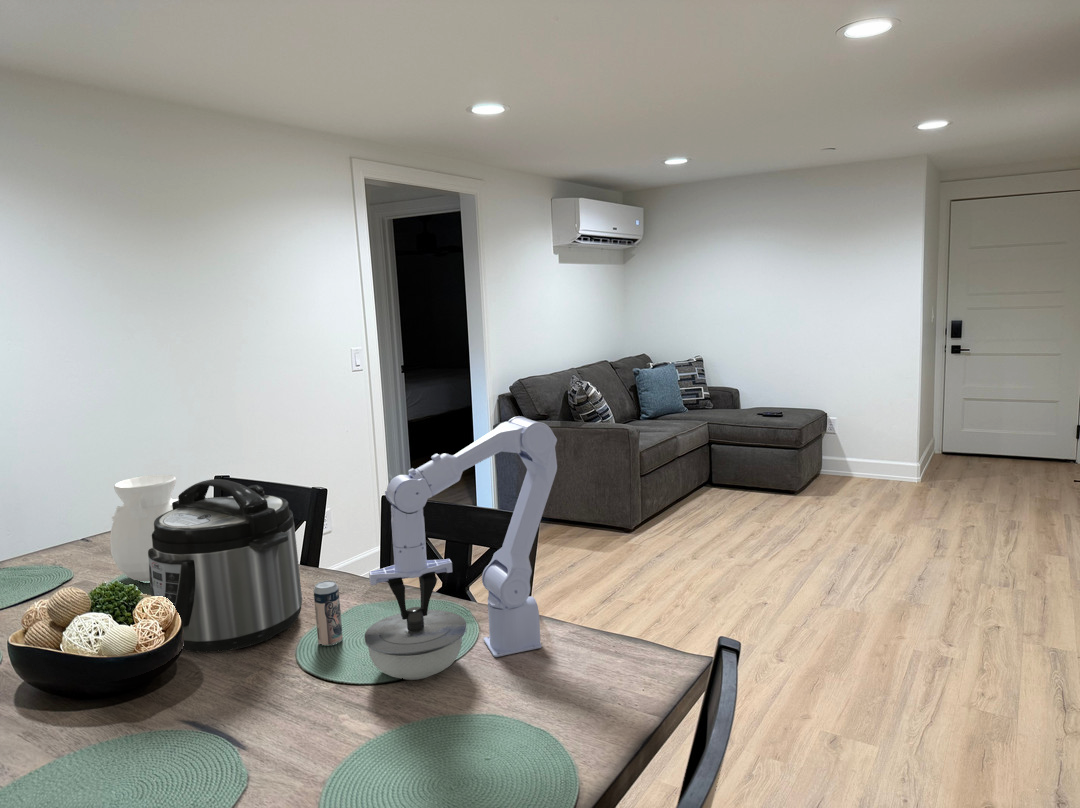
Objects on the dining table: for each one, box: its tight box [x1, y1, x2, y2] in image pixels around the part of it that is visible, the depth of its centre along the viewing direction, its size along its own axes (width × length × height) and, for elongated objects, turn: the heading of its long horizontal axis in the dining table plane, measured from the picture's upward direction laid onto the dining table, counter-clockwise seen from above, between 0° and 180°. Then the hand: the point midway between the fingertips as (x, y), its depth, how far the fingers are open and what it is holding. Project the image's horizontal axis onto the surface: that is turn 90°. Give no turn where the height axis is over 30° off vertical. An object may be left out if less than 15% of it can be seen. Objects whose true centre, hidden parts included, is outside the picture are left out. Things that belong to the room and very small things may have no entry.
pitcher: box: [109, 474, 179, 581], centre depth 185 cm, size 19×18×25 cm
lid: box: [364, 606, 468, 655], centre depth 133 cm, size 18×18×4 cm
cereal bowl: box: [367, 636, 463, 681], centre depth 135 cm, size 17×17×7 cm
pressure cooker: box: [148, 478, 303, 654], centre depth 153 cm, size 30×28×32 cm
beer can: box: [313, 580, 344, 646], centre depth 147 cm, size 5×5×12 cm
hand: (414, 615), depth 134 cm, fingers closed on lid, 3 cm apart
